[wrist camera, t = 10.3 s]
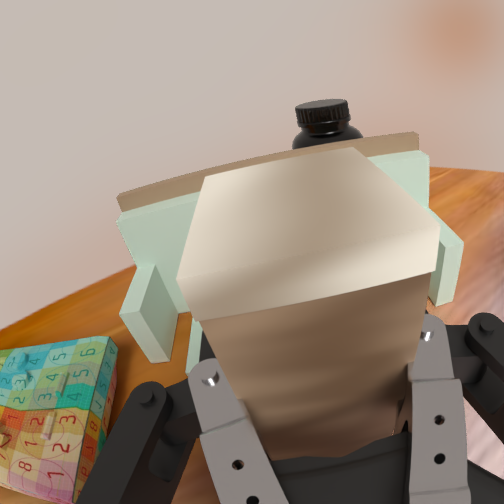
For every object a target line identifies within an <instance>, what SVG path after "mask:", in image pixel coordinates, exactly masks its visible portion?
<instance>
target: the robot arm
mask: <svg viewBox="0 0 504 504" xmlns="http://www.w3.org/2000/svg"><path fill="white" fill-rule="evenodd" d="M405 381H406V389H405V396H404V399H401V400H398V402H397V406H396V420H395V428H394V433H393V435H392V436H389V437H386V438H382V439H379V440H375V441H373V442H371V443H369V444H368V445H366V446H364V447H362V448H360V449H358V450H356V451H354V452H352V453H350V454H348V455H346V456H343V457H312V456H302V457H296V458H289V459H282V460H275V461H273V459H272V457H271V455H270V453H269V451H268V449H267V447H266V445H265V442H264V440H263V438H262V436H261V434H260V432H259V430H257V429H256V427H255V425H254V423H253V421H252V418H251V416H250V414H249V411H248V409H247V407H246V405H245V403H244V401H243V399H237V398H236V396H235V394H234V392H233V390H232V388H231V386H230V384H229V382H228V380H227V378H226V376H225V374H224V372H223V370H222V368H221V366H220V364H219V362H218V360H217V358H216V356H215V354H214V352H213V350H212V348H211V346H210V344H209V342H208V340H207V338H206V335H205V333H204V331H202V336H201V346H200V355H199V363H198V364H196V365H195V366H194V367H193V368H192V370H191V371H190V373H189V376H188V378H187V379H185V380H184V381H181V382H179V383H177V384H174V385H171V386H169V387H166V388H164V387H163V386H162V385H161V384H160V383H158V382H153V381H151V382H145V383H142V384H140V385H139V386H137V387H136V388H135V389H134V390H133V391H132V392H131V394H130V396H129V398H128V399H127V401H126V403H125V405H124V407H123V409H122V411H121V413H120V415H119V417H118V419H117V420H116V422H115V424H114V426H113V428H112V430H111V432H110V434H109V436H108V438H107V440H106V442H105V444H104V446H103V448H102V450H101V452H100V454H99V456H98V458H97V460H96V462H95V464H94V466H93V468H92V470H91V472H90V474H89V476H88V478H87V480H86V482H85V484H84V486H83V488H82V490H81V492H80V494H79V496H78V498H77V501H76V503H75V504H171V502H172V499H173V497H174V494H175V492H176V489H177V487H178V484H179V482H180V479H181V476H182V474H183V471H184V469H185V466H186V464H187V461H188V459H189V456H190V453H191V451H192V448H193V446H194V443H195V440H196V438H199V437H200V442H201V445H202V448H203V452H204V455H205V458H206V461H207V464H208V468H209V471H210V474H211V477H212V480H213V483H214V486H215V489H216V491H217V494H218V497H219V500H220V503H221V504H504V480H503V479H501V478H499V477H498V476H496V475H494V474H492V473H490V472H489V471H487V470H485V469H483V468H482V467H480V466H478V465H476V464H475V463H473V462H471V461H470V460H468V459H467V440H466V423H465V411H464V401H463V397H464V398H465V399H466V400H467V401H468V402H469V404H470V405H471V406H472V407H473V408H474V409H475V411H476V412H477V413H478V414H479V415H480V416H481V418H482V419H483V420H484V421H485V422H486V424H487V425H488V426H489V427H490V428H491V430H492V431H493V432H494V433H495V434H496V436H497V437H498V438H499V439H500V440H501V442H502V443H503V444H504V322H502V321H501V320H500V319H499V318H498V317H496V316H495V315H493V314H490V313H478V314H475V315H474V316H473V317H472V318H471V319H470V321H469V323H468V325H445V324H444V323H443V321H442V320H441V319H439V318H438V317H436V316H434V315H430V314H428V312H427V310H425V315H424V321H423V325H422V330H421V335H420V339H419V344H418V348H417V352H416V356H415V360H414V361H413V362H410V363H408V364H407V368H406V372H405Z"/></svg>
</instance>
